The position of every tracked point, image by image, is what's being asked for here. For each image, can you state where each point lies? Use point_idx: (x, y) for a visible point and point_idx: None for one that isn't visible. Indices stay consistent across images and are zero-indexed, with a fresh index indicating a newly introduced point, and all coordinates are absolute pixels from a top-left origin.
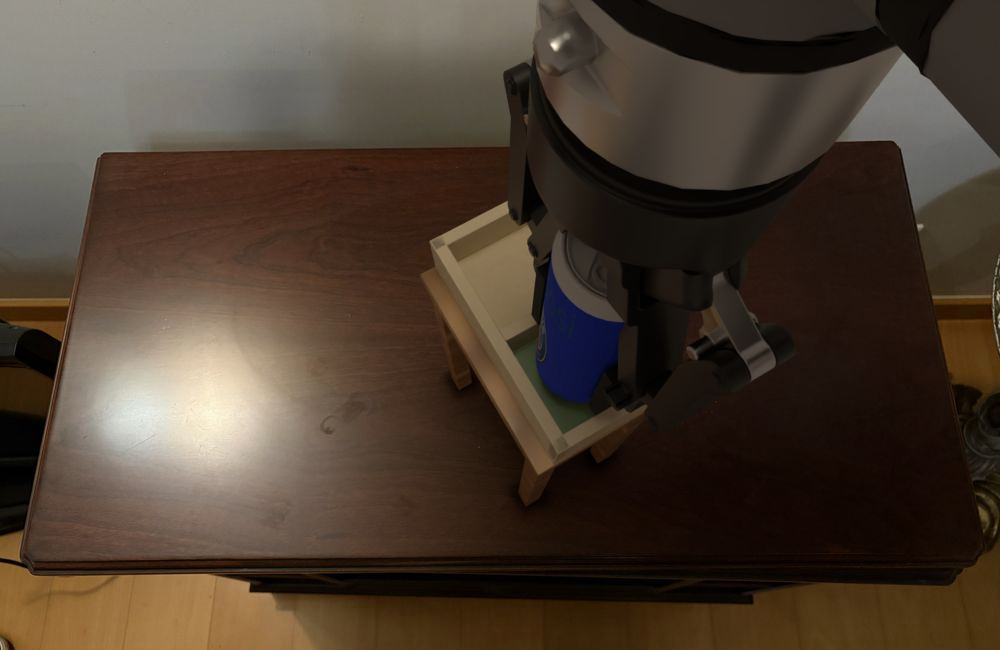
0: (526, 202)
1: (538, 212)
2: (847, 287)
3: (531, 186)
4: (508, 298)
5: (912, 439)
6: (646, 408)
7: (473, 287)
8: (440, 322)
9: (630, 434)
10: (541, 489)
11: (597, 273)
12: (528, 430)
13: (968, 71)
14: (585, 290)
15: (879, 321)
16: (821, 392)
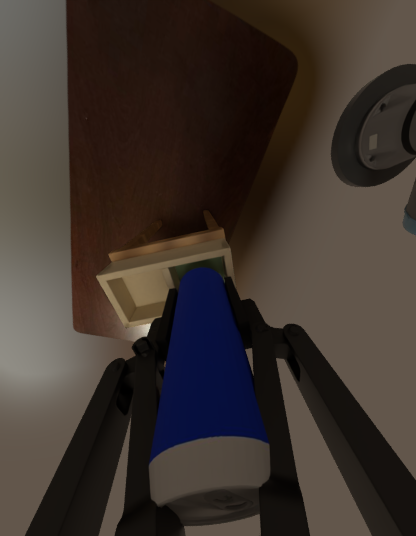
0: (127, 421)
1: (132, 385)
2: (163, 41)
3: (117, 449)
4: (157, 289)
5: (248, 57)
6: (287, 365)
7: (149, 301)
8: None
9: (211, 215)
10: None
11: (230, 507)
12: None
13: None
14: (243, 517)
15: (187, 31)
16: (212, 98)
